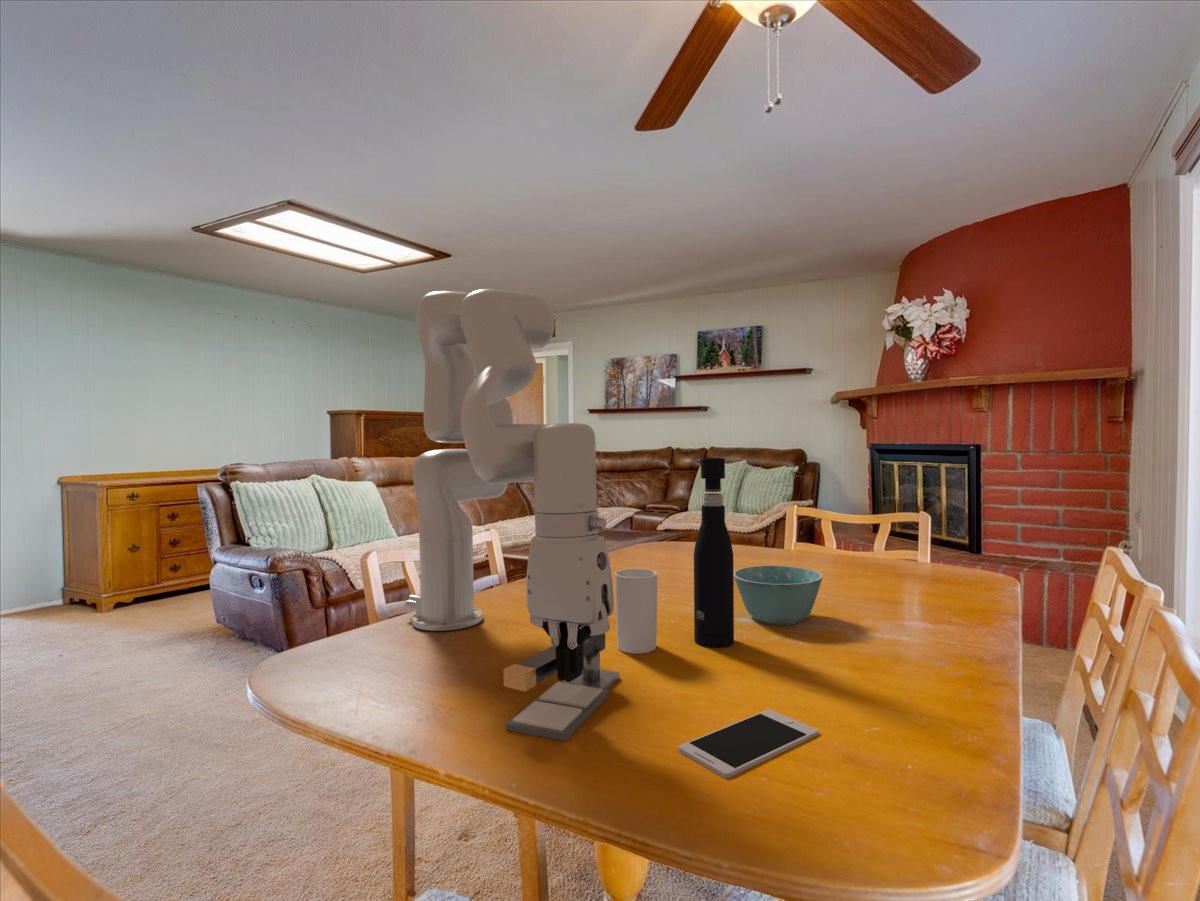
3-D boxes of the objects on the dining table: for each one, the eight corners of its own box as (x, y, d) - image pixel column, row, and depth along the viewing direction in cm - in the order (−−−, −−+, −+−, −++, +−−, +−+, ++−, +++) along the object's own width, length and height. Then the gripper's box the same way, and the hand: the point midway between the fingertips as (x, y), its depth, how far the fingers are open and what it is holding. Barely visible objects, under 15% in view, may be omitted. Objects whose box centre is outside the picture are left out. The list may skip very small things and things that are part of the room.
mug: (665, 651, 100) (664, 575, 99) (625, 657, 97) (624, 579, 97) (638, 632, 109) (637, 563, 109) (602, 637, 107) (601, 566, 106)
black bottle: (736, 637, 106) (735, 457, 105) (731, 649, 100) (730, 459, 99) (698, 633, 108) (696, 457, 108) (690, 645, 102) (689, 459, 101)
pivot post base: (562, 687, 86) (561, 654, 86) (580, 672, 92) (580, 641, 91) (603, 694, 84) (602, 660, 84) (619, 677, 89) (619, 646, 89)
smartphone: (820, 737, 72) (820, 729, 72) (726, 783, 63) (726, 773, 63) (769, 715, 78) (769, 707, 78) (676, 754, 69) (676, 745, 69)
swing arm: (586, 641, 90) (586, 625, 90) (610, 645, 88) (610, 629, 88) (501, 686, 74) (500, 667, 74) (528, 693, 72) (528, 674, 72)
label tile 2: (532, 707, 80) (532, 698, 80) (556, 687, 86) (556, 679, 86) (588, 717, 77) (588, 708, 77) (608, 695, 83) (608, 687, 83)
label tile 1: (506, 730, 74) (505, 720, 74) (533, 707, 80) (533, 698, 80) (565, 741, 71) (564, 731, 71) (588, 716, 77) (588, 707, 77)
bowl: (726, 626, 113) (726, 579, 112) (741, 603, 127) (741, 562, 127) (820, 635, 107) (819, 586, 106) (824, 610, 121) (824, 567, 121)
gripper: (635, 524, 76) (639, 677, 77) (533, 520, 84) (536, 659, 84) (606, 533, 70) (609, 699, 70) (497, 527, 77) (501, 678, 77)
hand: (570, 677), depth 77 cm, fingers closed
